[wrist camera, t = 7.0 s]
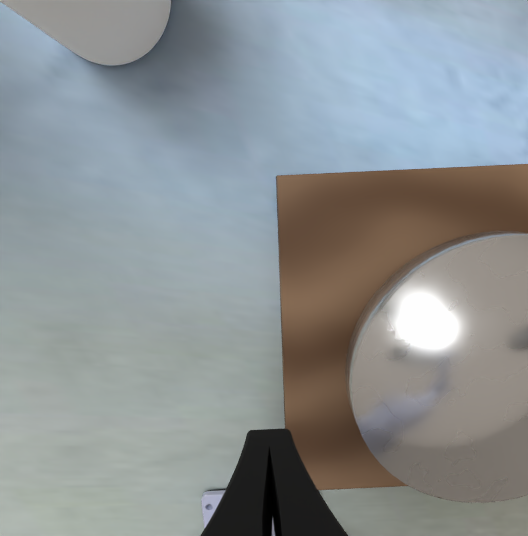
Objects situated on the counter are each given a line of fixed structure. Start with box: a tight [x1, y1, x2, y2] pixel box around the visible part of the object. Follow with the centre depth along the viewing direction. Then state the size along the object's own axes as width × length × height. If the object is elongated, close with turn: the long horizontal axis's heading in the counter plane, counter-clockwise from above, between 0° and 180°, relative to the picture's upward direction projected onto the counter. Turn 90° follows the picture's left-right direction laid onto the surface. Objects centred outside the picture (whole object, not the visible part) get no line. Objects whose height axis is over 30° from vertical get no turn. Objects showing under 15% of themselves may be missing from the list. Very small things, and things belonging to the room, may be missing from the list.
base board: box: [276, 164, 528, 490], centre depth 18 cm, size 20×20×6 cm
